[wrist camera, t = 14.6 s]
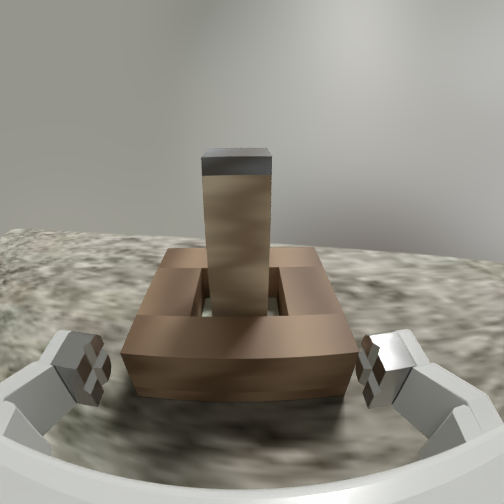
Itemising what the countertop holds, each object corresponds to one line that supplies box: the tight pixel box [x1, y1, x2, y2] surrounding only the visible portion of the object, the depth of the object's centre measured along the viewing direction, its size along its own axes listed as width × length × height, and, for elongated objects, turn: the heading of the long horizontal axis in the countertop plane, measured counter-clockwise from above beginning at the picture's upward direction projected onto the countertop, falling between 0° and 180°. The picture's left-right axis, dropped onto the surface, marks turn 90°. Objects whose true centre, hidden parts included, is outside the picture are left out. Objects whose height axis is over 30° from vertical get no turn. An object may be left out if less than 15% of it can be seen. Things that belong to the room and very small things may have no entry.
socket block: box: [120, 247, 359, 402], centre depth 21 cm, size 13×13×4 cm
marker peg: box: [201, 148, 272, 317], centre depth 19 cm, size 4×4×12 cm
